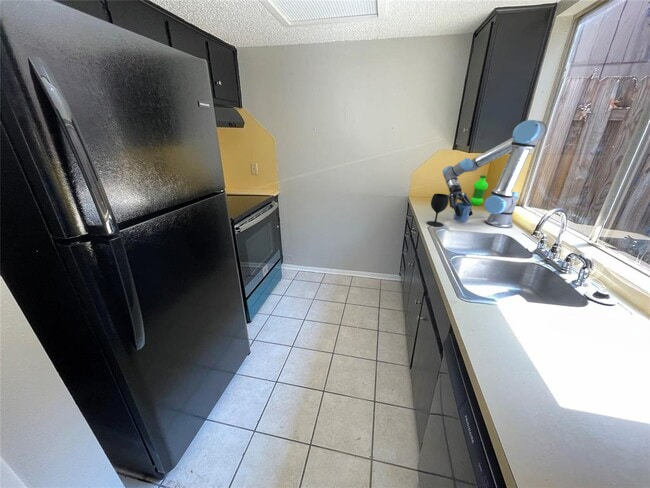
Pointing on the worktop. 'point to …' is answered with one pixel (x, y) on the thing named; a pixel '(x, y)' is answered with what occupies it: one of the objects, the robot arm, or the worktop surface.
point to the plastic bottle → (479, 191)
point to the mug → (463, 212)
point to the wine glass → (438, 207)
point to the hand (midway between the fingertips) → (465, 215)
